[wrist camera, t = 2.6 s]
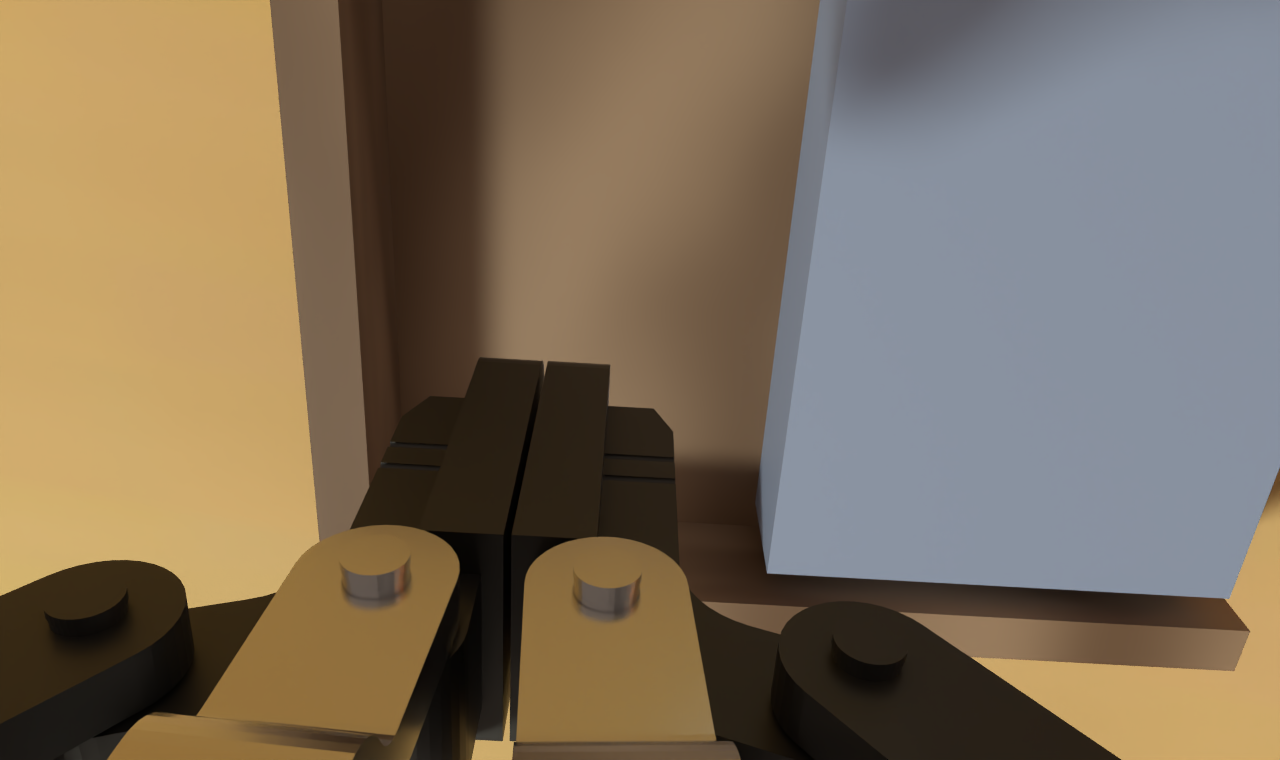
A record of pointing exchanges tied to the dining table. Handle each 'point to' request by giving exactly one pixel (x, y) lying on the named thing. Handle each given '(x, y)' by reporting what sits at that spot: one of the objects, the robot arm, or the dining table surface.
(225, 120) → the dining table surface
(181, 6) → the dining table surface
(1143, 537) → the cover plate
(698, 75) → the walnut tray
